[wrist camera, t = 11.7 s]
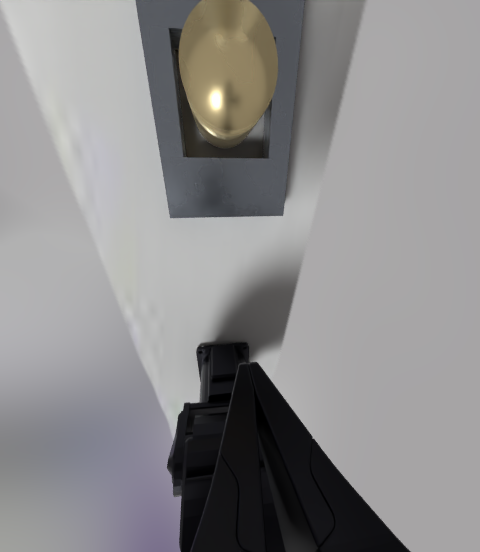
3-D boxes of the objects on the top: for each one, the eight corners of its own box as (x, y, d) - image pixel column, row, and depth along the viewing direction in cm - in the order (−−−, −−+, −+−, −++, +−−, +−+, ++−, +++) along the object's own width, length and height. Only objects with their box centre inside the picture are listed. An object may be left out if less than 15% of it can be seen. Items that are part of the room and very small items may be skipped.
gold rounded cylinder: (254, 147, 15) (276, 128, 10) (197, 149, 15) (188, 131, 9) (253, 70, 13) (280, -7, 8) (187, 70, 13) (168, -10, 7)
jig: (275, 211, 18) (283, 215, 16) (174, 213, 16) (170, 218, 15) (296, -39, 11) (312, -79, 9) (134, -61, 10) (117, -111, 8)
